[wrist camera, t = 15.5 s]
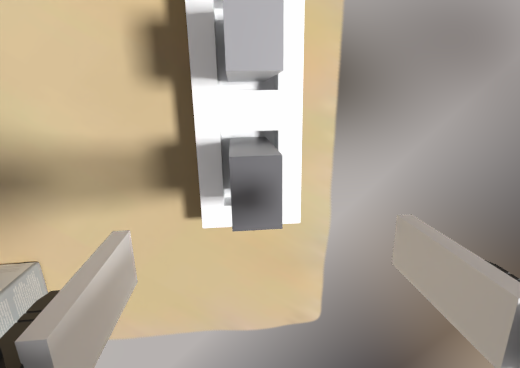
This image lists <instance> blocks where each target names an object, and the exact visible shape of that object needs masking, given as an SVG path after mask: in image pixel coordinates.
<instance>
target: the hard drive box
mask: <svg viewBox="0 0 520 368" xmlns="http://www.w3.org/2000/svg"><path fill="white" fill-rule="evenodd" d="M46 294H48V291H47V288H46V284H45V280H44V277H43V274H42V270H41V267H40V264H39V262H32V263H20V264H5V265H0V338H1V337H2V336H3V335H4V334H5V333H6V332H7V331H8V330H9V329H10V328H11V327H12V326H13V325H14V324H15V323H17V320H18V319H19V318H20V317H21V316H22V315H23V314H25V313H26V311H27V310H28V309H29V308H30V307H31V306H32V305H33V304H34V303H35V302H36V301H37V300H38V299H40V298H41V297H43V296H44V295H46Z"/></svg>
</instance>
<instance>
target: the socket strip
mask: <svg viewBox="0 0 520 368" xmlns="http://www.w3.org/2000/svg"><path fill="white" fill-rule="evenodd" d="M185 6H186V19H187V32H188V45H189V58H190V71H191V84H192V97H193V110H194V123H195V135H196V148H197V161H198V174H199V187H200V200H201V213H202V226H203V228H217V227H232V208H231V187H230V166H229V147H230V138H237V137H266V138H267V139H268V140H269V141H270V142H271V143H272V144H273V146H274V147H275V148H276V149H277V150H278V151H279V152H280V153H281V154H282V224H290V223H300V216H301V164H302V111H303V58H304V6H305V0H185Z"/></svg>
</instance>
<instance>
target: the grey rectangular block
mask: <svg viewBox="0 0 520 368" xmlns="http://www.w3.org/2000/svg"><path fill="white" fill-rule="evenodd" d="M229 166H230V187H231V208H232V229H233V231H248V230H266V229H282V154H281V153H280V152H279V151H278V150H277V149H276V148H275V147H274V146H273V144H272V143H271V142H270V141H269V140H268V139H267V138H266V137H237V138H230V147H229Z"/></svg>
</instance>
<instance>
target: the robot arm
mask: <svg viewBox="0 0 520 368" xmlns="http://www.w3.org/2000/svg"><path fill="white" fill-rule="evenodd" d="M392 264H393V265H394V266H395V267H396V268H397V269H398V270H399V271H400V272H401V273H402V274H403V275H404V276H405V277H406V278H407V279H408V280H409V281H410V282H411V283H412V284H413V285H414V286H415V287H416V288H417V289H418V290H419V291H420V292H421V293H422V294H423V296H425V298H426V299H427V300H429V301H430V303H431V304H433V306H434V307H435V308H436V309H438V311H439V312H440V313H441V314H442V315H443V316H444V317H445V318H446V319H447V320H448V321H449V322H450V323H451V324H452V325H453V326H454V327H455V328H456V329H457V330H458V331H459V332H460V333H461V334H462V335H463V336H464V337H465V338H466V339H467V340H468V341H469V342H470V343H471V344H472V345H473V346H474V347H475V348H476V349H477V350H478V351H479V352H480V353H481V354H482V355H483V356H484V357H485V358H486V359H487V360H488V361H489V362H490V363H491V364H492V365H493V366H494V367H495V368H520V279H519V278H517V277H515V276H514V275H512V274H510V273H509V272H508V271H506V270H504V269H503V268H501V267H499V266H498V265H496V264H493V263H491V262H488V261H486V260H484V259H482V258H480V257H479V256H477V255H475V254H474V253H472V252H471V251H469V250H468V249H466V248H464V247H463V246H461V245H460V244H458V243H456V242H455V241H453V240H452V239H450V238H448V237H447V236H445V235H444V234H442V233H440V232H439V231H437V230H436V229H434V228H432V227H431V226H429V225H428V224H426V223H424V222H423V221H421V220H420V219H418V218H417V217H415V216H413V215H412V214H410V215H409V214H408V215H397V221H396V229H395V239H394V246H393V255H392ZM136 284H137V275H136V268H135V262H134V255H133V248H132V242H131V235H130V230H127V231H113V232H112V233H111V234H110V235H109V236H108V237H107V238H106V240H105V241H104V242H103V243H102V244H101V245H100V246H99V247H98V249H97V250H96V251H95V252H94V253H93V254H92V255H91V256H90V258H89V259H88V260H87V261H86V262H85V263H84V264H83V265H82V267H81V268H80V269H79V270H78V271H77V272H76V273H75V274H74V276H73V277H72V278H71V279H70V280H69V281H68V282H67V283H66V285H65V286H64V287H63V288H62V289H61V290H58V291H51V292H49V293H48V294H46V295H44V296H43V297H41V298H40V299H38V300H37V301H36V302H35V303H34V304H33V305H32V306H31V307H30V308H29V309H28V310H27V311H26V313H25V314H23V315H22V316H21V317H20V318H19V319H18V320H17V323H15V324H14V325H13V326H12V327H11V328H10V329H9V330H8V331H7V332H6V333H5V334H4V335H3V336H2V337H1V338H0V368H94V367H95V365H96V363H97V361H98V359H99V357H100V355H101V353H102V351H103V349H104V347H105V345H106V343H107V341H108V339H109V337H110V335H111V333H112V331H113V329H114V327H115V325H116V323H117V321H118V319H119V317H120V315H121V313H122V311H123V309H124V307H125V305H126V304H127V302H128V300H129V298H130V296H131V294H132V292H133V290H134V288H135V286H136Z"/></svg>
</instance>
